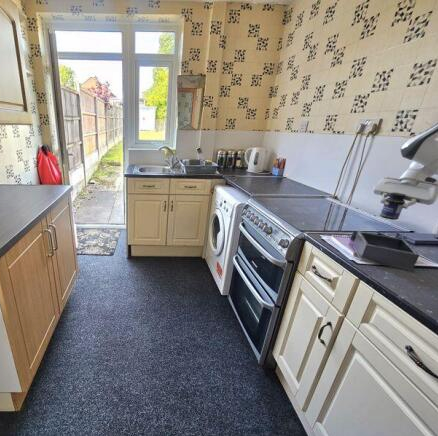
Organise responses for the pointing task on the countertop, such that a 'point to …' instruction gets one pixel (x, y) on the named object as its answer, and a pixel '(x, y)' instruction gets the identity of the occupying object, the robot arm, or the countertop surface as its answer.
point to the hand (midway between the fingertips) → (393, 205)
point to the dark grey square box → (385, 250)
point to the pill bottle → (393, 206)
